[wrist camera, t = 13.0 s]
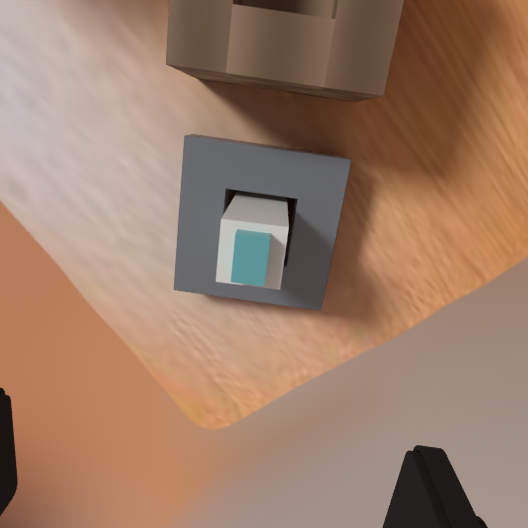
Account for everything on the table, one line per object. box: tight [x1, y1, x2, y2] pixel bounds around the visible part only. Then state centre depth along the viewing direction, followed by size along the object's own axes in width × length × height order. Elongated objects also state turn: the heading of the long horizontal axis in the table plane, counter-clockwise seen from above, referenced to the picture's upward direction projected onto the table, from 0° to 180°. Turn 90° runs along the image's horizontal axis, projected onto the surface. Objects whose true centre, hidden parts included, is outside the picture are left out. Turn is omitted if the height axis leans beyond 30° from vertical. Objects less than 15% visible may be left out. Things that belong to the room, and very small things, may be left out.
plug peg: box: [216, 191, 289, 290], centre depth 30 cm, size 4×4×11 cm
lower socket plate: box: [174, 134, 351, 311], centre depth 33 cm, size 12×12×3 cm
